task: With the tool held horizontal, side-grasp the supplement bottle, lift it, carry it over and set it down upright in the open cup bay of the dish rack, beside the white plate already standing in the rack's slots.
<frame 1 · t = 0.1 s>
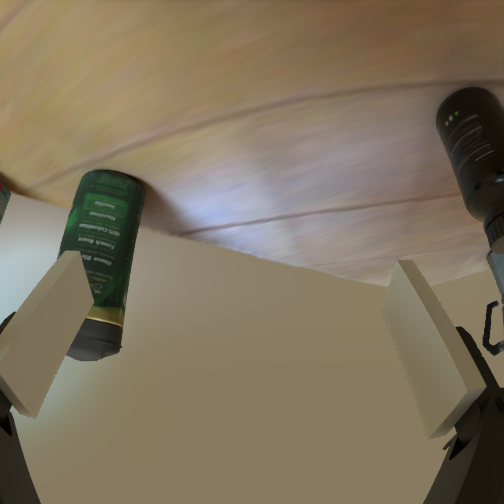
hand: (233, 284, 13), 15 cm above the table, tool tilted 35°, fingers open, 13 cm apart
coffee jar: (111, 190, 34), on the table
supplement bottle: (466, 111, 21), on the table
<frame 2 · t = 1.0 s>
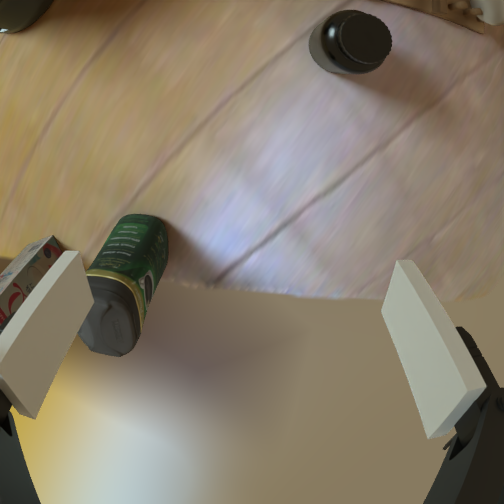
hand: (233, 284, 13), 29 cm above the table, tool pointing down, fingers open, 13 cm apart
juice carton: (49, 255, 47), on the table
coffee jar: (143, 241, 46), on the table
supplement bottle: (335, 47, 32), on the table
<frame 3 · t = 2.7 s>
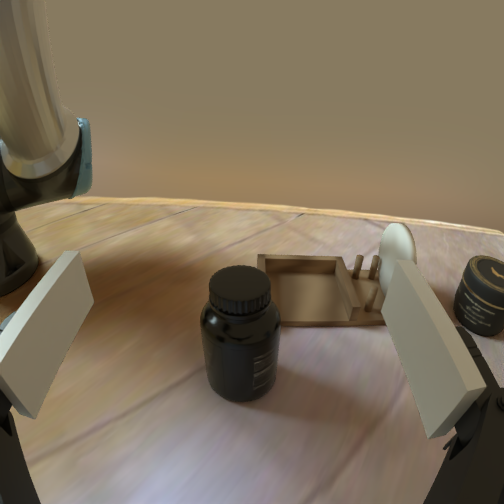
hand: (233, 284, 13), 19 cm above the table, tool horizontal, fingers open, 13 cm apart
dish rack: (332, 297, 42), on the table
jar: (477, 317, 38), on the table
supplement bottle: (240, 377, 31), on the table
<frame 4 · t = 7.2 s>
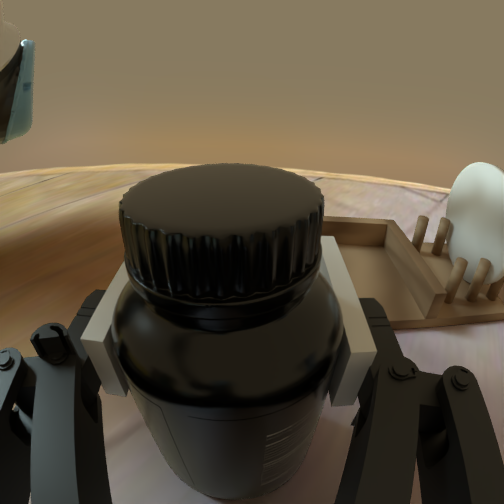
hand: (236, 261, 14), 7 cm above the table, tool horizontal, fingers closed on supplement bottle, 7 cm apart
dish rack: (386, 281, 25), on the table
supplement bottle: (233, 441, 14), on the table, touching gripper
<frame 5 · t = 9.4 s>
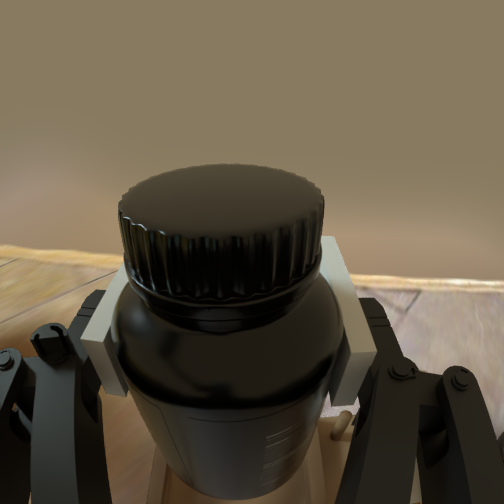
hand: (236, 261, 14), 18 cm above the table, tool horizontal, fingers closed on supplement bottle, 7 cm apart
dish rack: (289, 479, 21), on the table
supplement bottle: (233, 441, 14), point 11 cm above the table, touching gripper
when the fingers open (9 cm above the table, at t = 12.0 s): supplement bottle drops 1 cm, resting on dish rack.
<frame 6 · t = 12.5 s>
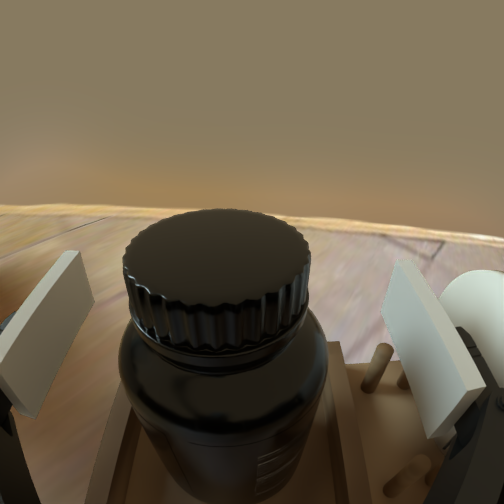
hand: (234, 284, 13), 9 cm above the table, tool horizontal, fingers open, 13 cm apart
dish rack: (307, 448, 15), on the table
supplement bottle: (230, 452, 14), point 1 cm above the table, touching dish rack
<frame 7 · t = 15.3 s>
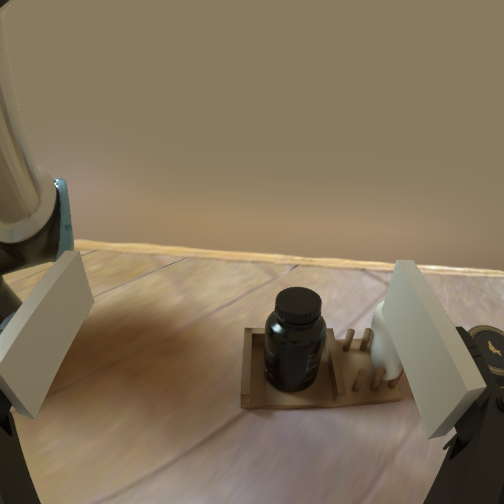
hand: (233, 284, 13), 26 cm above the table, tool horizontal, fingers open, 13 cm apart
dish rack: (320, 373, 40), on the table
jar: (470, 386, 35), on the table
supplement bottle: (289, 374, 39), point 1 cm above the table, touching dish rack
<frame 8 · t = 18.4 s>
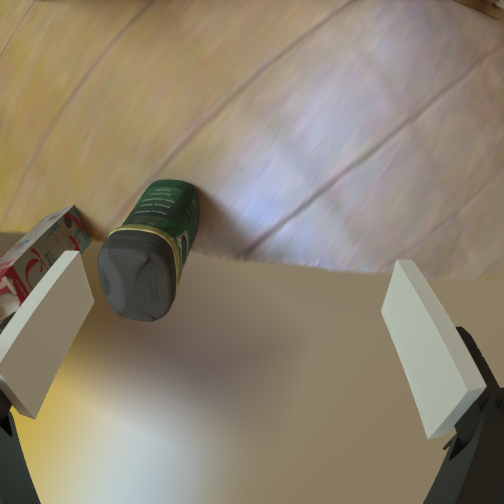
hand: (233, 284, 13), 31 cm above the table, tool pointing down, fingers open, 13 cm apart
juice carton: (68, 228, 46), on the table
coffee jar: (172, 209, 45), on the table
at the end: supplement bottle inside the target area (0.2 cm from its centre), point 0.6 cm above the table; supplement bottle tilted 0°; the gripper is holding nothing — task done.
